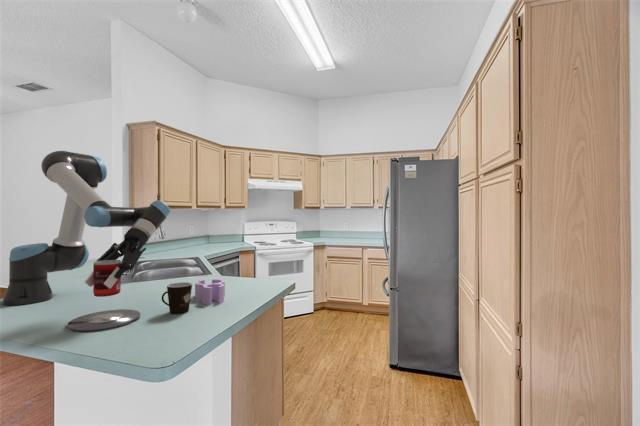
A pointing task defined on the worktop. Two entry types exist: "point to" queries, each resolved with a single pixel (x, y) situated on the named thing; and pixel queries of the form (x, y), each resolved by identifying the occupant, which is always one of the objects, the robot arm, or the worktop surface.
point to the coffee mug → (178, 297)
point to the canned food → (105, 278)
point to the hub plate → (103, 320)
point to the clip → (210, 291)
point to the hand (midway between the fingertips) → (97, 285)
